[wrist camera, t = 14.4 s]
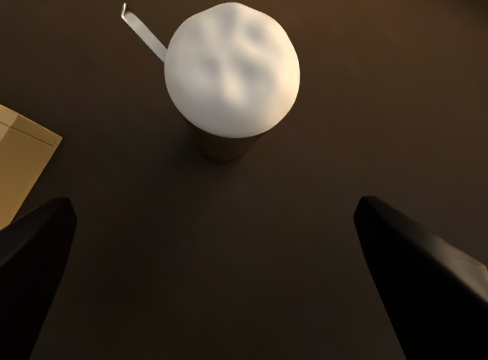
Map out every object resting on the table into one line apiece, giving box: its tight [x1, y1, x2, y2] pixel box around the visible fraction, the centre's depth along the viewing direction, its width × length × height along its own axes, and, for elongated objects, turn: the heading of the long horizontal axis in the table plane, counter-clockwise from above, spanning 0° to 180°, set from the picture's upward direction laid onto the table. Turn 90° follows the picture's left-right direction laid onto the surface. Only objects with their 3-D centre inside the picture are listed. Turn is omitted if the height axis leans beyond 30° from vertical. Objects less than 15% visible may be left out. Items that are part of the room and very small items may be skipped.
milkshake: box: [121, 3, 300, 163], centre depth 13 cm, size 4×5×10 cm
